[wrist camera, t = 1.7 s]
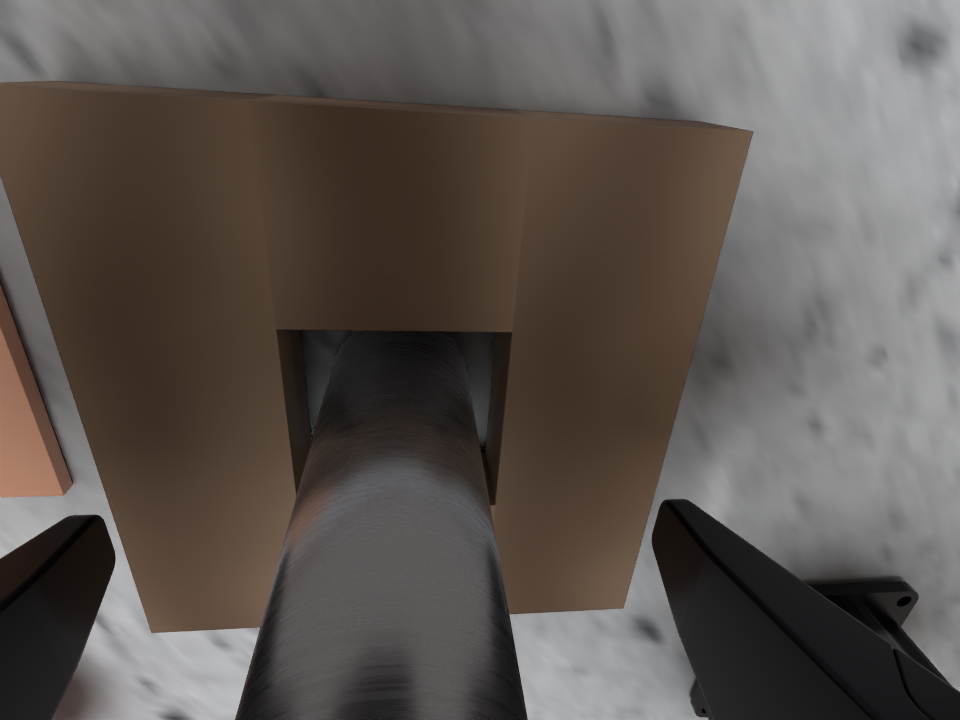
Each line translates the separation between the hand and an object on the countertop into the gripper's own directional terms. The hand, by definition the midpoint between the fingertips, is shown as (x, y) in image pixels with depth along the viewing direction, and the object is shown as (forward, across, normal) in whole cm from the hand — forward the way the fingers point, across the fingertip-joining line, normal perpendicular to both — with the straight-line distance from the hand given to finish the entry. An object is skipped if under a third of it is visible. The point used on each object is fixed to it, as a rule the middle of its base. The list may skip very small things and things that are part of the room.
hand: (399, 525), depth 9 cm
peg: (+5, 0, 0) cm, 5 cm away
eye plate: (+5, 0, 0) cm, 5 cm away
